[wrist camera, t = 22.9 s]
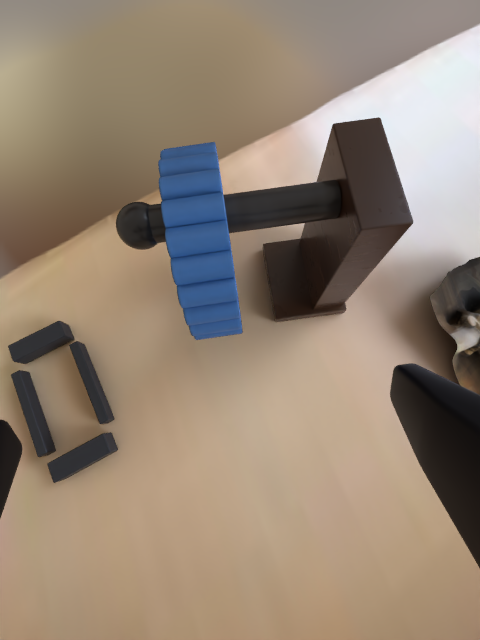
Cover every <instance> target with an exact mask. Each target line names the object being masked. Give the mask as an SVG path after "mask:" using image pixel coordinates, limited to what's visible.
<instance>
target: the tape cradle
mask: <svg viewBox="0 0 480 640" xmlns="http://www.w3.org/2000/svg"><path fill="white" fill-rule="evenodd" d="M72 340H74V337H73V335H72V332H71V330H70V327H69V325H67V324H65V323H63V322H61V321H57V322H55V323H53V324H51V325H49V326H47V327H45V328H43V329H41V330H39V331H37V332H35V333H33V334H31V335H29V336H27V337H25V338H23V339H21V340H19V341H17V342H15V343H13V344H11V345H9V346H8V347H9V350H10V353H11V356H12V359H13V361H14V362H18V363H23V364H26V363H28V362H30V361H32V360H34V359H36V358H38V357H40V356H42V355H44V354H46V353H48V352H50V351H52V350H54V349H56V348H58V347H60V346H62V345H64V344H66V343H68V342H70V341H72ZM69 346H70V349H71V351H72V354H73V356H74V359H75V361H76V364H77V367H78V369H79V372H80V374H81V377H82V379H83V382H84V384H85V387H86V390H87V392H88V395H89V397H90V400H91V402H92V405H93V408H94V410H95V413H96V415H97V418H98V420H99V423H100V424H106V423H109V422H111V421H113V420H114V416H113V413H112V411H111V409H110V406H109V404H108V401H107V399H106V396H105V394H104V391H103V389H102V386H101V384H100V381H99V379H98V376H97V374H96V371H95V369H94V367H93V364H92V362H91V359H90V357H89V354H88V352H87V349H86V347H85V344H83V343H81V342H78V341H76V342H74V343H72V344H70V345H69ZM11 376H12V379H13V382H14V385H15V388H16V392H17V395H18V398H19V401H20V404H21V407H22V410H23V413H24V416H25V419H26V422H27V425H28V428H29V431H30V434H31V437H32V440H33V443H34V446H35V449H36V452H37V455H38V457H42V456H46V455H49V454H51V453H53V452H55V451H56V449H55V446H54V443H53V440H52V437H51V434H50V431H49V428H48V426H47V423H46V420H45V417H44V414H43V411H42V408H41V405H40V402H39V400H38V397H37V394H36V391H35V388H34V385H33V382H32V379H31V376H30V373H29V372H26V371H20V370H19V371H17V372H15V373H13V374H11ZM117 450H118V448H117V445H116V443H115V440H114V438H113V435H112V433H111V432H110V433H104V434H101V435H99V436H97V437H96V438H94V439H92V440H90V441H88V442H86V443H84V444H83V445H81V446H79V447H77V448H75V449H73V450H71V451H70V452H68V453H66V454H64V455H62V456H60V457H58V458H57V459H55V460H53V461H51V462H49V463H48V467H49V470H50V473H51V476H52V479H53V482H54V483H56V482H58V481H61V480H64V479H66V478H68V477H70V476H72V475H74V474H75V473H77V472H79V471H81V470H83V469H84V468H86V467H88V466H90V465H92V464H94V463H95V462H97V461H99V460H101V459H103V458H105V457H106V456H108V455H110V454H112V453H114V452H116V451H117Z"/></svg>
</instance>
